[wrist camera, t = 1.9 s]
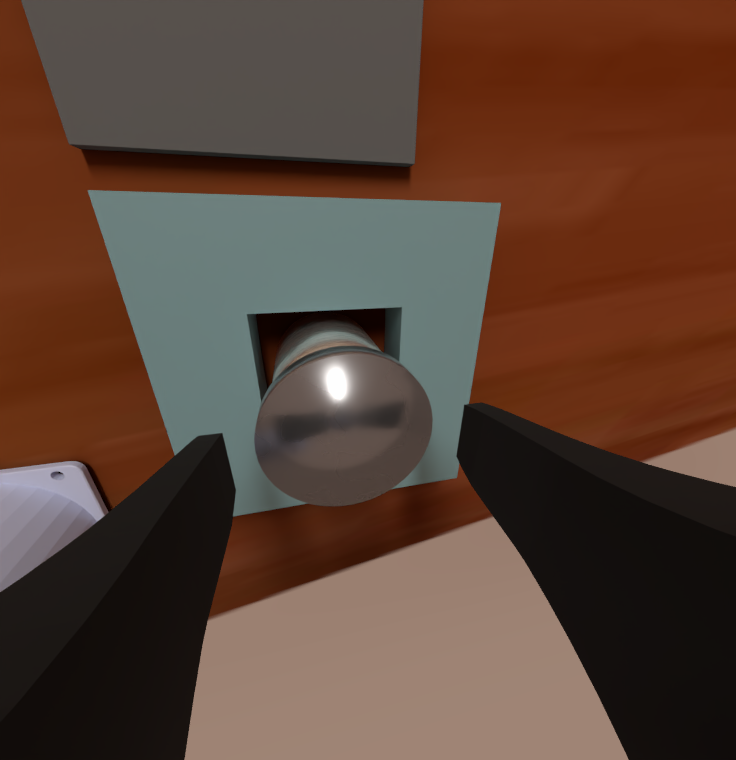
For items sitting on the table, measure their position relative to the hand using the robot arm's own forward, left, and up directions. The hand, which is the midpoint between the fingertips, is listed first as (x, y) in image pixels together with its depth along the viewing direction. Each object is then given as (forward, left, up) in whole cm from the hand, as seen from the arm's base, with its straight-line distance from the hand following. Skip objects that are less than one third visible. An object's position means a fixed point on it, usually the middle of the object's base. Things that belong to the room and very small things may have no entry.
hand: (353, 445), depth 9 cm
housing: (0, 0, -7) cm, 7 cm away
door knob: (0, 0, -7) cm, 7 cm away
